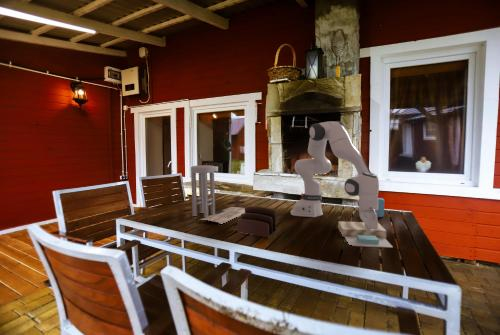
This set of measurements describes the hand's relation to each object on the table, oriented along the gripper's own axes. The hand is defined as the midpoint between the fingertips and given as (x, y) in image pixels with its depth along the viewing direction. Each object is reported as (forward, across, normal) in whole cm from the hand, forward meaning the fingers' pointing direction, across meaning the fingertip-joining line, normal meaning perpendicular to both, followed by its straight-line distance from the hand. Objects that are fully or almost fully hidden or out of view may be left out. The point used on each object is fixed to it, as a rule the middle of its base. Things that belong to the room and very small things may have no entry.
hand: (367, 232), depth 135 cm
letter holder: (+6, +7, +58) cm, 58 cm away
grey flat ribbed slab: (+6, +37, +83) cm, 91 cm away
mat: (+5, 0, 0) cm, 5 cm away
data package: (+5, +51, -17) cm, 54 cm away
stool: (+5, +37, +99) cm, 106 cm away
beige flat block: (+5, +14, 0) cm, 15 cm away
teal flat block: (+3, 0, 0) cm, 3 cm away
